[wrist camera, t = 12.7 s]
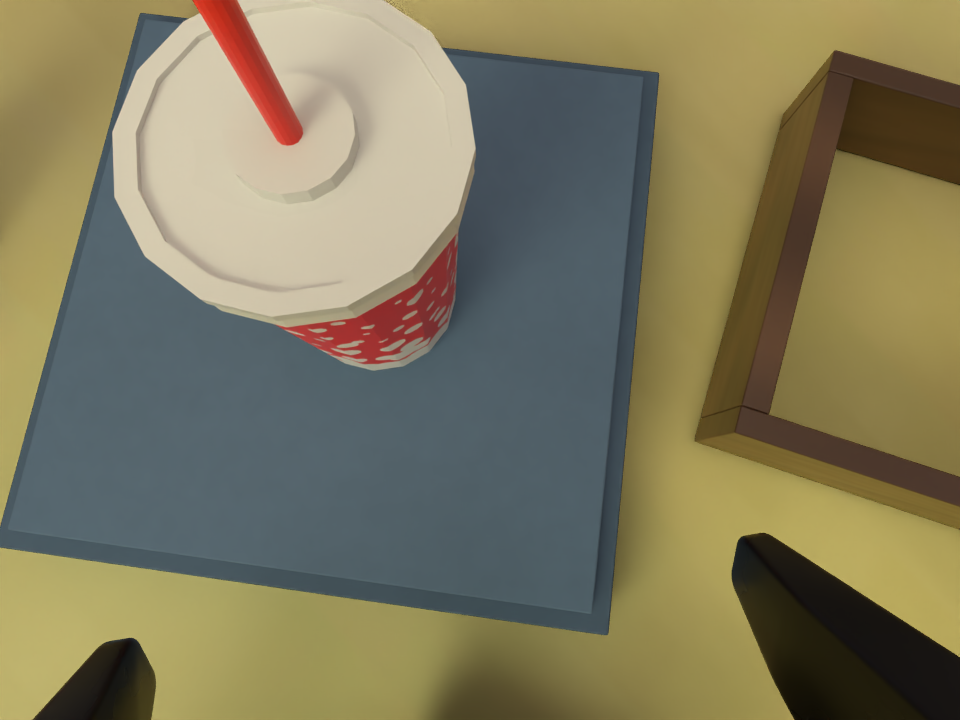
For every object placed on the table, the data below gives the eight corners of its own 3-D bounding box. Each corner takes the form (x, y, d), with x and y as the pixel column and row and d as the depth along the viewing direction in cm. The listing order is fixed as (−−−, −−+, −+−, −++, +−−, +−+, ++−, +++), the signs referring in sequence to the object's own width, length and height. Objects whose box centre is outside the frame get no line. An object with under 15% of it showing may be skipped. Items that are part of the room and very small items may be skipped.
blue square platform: (596, 621, 20) (612, 640, 18) (40, 541, 21) (-21, 548, 18) (645, 106, 23) (664, 61, 21) (167, 50, 24) (131, 0, 22)
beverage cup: (474, 401, 19) (443, 171, 5) (268, 390, 19) (-307, 136, 5) (485, 207, 20) (486, -403, 6) (291, 198, 20) (-126, -421, 6)
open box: (1080, 570, 20) (1202, 586, 17) (693, 441, 21) (734, 432, 18) (1133, 215, 22) (1251, 166, 19) (783, 113, 23) (834, 48, 20)
